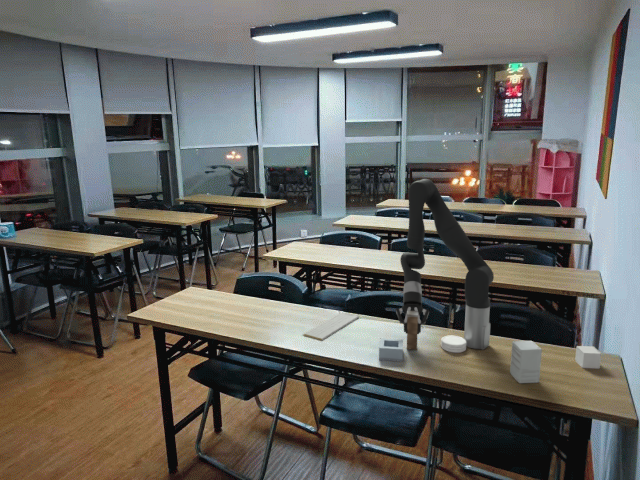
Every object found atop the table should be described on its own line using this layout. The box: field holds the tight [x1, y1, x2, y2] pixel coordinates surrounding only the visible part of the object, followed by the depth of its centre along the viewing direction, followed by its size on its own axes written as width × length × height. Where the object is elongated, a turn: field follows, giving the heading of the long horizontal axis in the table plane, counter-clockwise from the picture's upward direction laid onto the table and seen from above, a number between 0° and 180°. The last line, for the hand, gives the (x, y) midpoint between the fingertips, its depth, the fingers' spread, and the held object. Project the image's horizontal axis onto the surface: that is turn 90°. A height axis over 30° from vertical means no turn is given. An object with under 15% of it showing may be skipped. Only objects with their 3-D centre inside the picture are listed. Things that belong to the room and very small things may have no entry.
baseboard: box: [302, 309, 360, 341], centre depth 212 cm, size 31×3×12 cm
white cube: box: [574, 345, 602, 369], centre depth 171 cm, size 6×6×6 cm
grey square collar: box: [378, 337, 404, 362], centre depth 181 cm, size 9×9×5 cm
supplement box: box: [509, 340, 543, 384], centre depth 161 cm, size 7×7×13 cm
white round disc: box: [440, 334, 467, 354], centre depth 187 cm, size 10×10×4 cm
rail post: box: [406, 311, 418, 351], centre depth 186 cm, size 4×4×15 cm
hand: (412, 333), depth 184 cm, fingers closed on rail post, 4 cm apart
